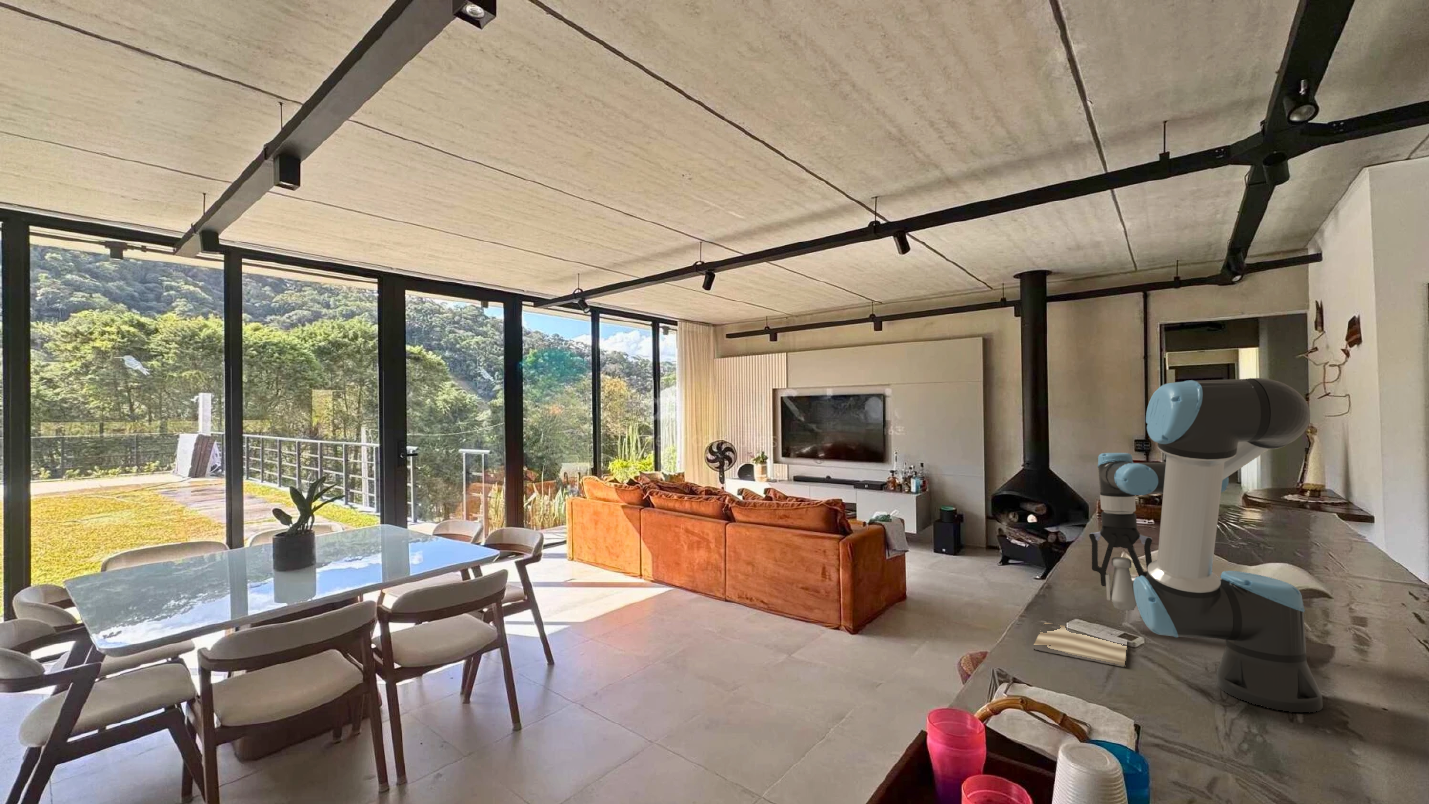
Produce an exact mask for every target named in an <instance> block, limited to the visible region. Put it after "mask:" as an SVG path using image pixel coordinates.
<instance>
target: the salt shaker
mask: <svg viewBox="0 0 1429 804" xmlns="http://www.w3.org/2000/svg"><path fill="white" fill-rule="evenodd" d="M1111 566H1112V567H1114V569H1113V577H1112V584H1111V596H1110V598H1111V600H1110V601H1111V602H1112V605H1113V607H1114V609H1118V610H1121V611H1128V612H1129V611H1134V610H1135V609H1136V606H1137V603H1136V600H1135V595H1134V588H1133V583H1134V581H1133V580H1132V579H1133V578H1132V575H1131V571H1130V568H1132V559H1130V558H1127V557H1125V556H1116V557H1112V558H1111Z"/></svg>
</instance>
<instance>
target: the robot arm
mask: <svg viewBox="0 0 1429 804" xmlns="http://www.w3.org/2000/svg"><path fill="white" fill-rule="evenodd" d="M1145 414H1146V415H1145V423H1146V424H1147V425H1146V431H1147V434H1148V437H1149V438H1150V439H1151V440H1152V441H1153V442H1154V443H1157V449H1158V450H1159V451H1160V452H1162V454H1164V455H1165V456H1166V457H1165V458H1166V459H1165V462H1134V460H1133V455H1132V454H1131V453H1129V452H1102V453H1100V454H1098V456H1097V459H1098V461H1097V469H1098V479H1099V480H1098V481H1099V499H1100V510H1102V512H1101V513H1100V515H1101V529H1100V531H1097V532H1090V533H1089V534H1088V537H1089V539H1090V541H1091V569H1092V571H1093V572H1097V573H1099V576H1100V585H1101V586H1102V587H1106V589H1105V591H1106V601H1111V598H1110V596H1111V589H1112V587H1111V577H1110V575H1111V573H1110V572H1107V569H1108V566H1109V562H1110V559H1111V556H1112V553H1113V549H1114V548H1121V549H1127V551H1128V553H1129V556H1130V558H1131V562H1132V564H1133V565H1134V568H1135V571H1136V573H1137V574H1138V575H1136V576H1135V578H1134V579H1133V588H1134V595H1135V600H1136V603H1137V605H1136V606H1137V609H1138V612H1139V614H1140V616H1141V619H1142V621H1143V623H1144V624H1145V626H1146V627H1147V628H1148V630H1149V631H1150V632H1152V633H1154V634H1156V635H1159V636H1167V637H1168V636H1170V637H1174V638H1177V639H1178V638H1179V637H1180V638H1194V639H1208V640H1222V641H1223V640H1224V641H1225V650H1224V652H1223V654H1222V657H1221V659H1220V662H1219V665H1218V667H1217V668H1216V669H1217V670H1216V685H1217V686H1219V687H1220V688H1221V689H1222V690H1221V689H1220V688H1219V687H1218V688H1219V689H1220V690H1221V691H1223V692H1224V691H1225V692H1224V693H1226V694H1227V693H1228V694H1227V695H1229V696H1231V695H1232V696H1231V697H1233V696H1234V697H1233V698H1235V697H1236V698H1235V699H1237V698H1238V700H1240V699H1241V700H1240V701H1242V700H1244V701H1243V702H1245V701H1247V702H1246V703H1248V702H1249V703H1248V704H1251V703H1252V704H1251V705H1255V704H1256V705H1255V706H1257V705H1262V706H1264V707H1263V708H1265V707H1268V708H1267V709H1269V708H1273V709H1277V710H1276V711H1278V710H1283V711H1282V712H1284V711H1289V712H1288V713H1292V712H1309V713H1308V714H1311V713H1310V712H1313V713H1317V712H1319V711H1321V710H1322V709H1323V708H1324V707H1323V706H1324V704H1323V694H1322V692H1321V690H1320V688H1319V685H1318V684H1317V682H1316V679H1315V677H1314V675H1313V673H1312V670H1311V669H1310V666H1309V664H1308V662H1307V643H1306V642H1307V641H1306V628H1305V627H1306V625H1305V614H1304V613H1305V612H1306V609H1305V607H1304V601H1303V596H1302V593H1301V591H1300V589H1298V588H1297V587H1296V586H1294V585H1293V584H1291V583H1289V582H1286V581H1283V580H1280V579H1278V578H1272V577H1269V576H1265V575H1262V574H1256V573H1251V572H1247V571H1246V572H1245V571H1239V570H1224V571H1222V572H1221V574H1220V576H1218V575H1217V574H1216V573H1215V572H1214V571H1213V563H1214V556H1215V555H1214V554H1215V548H1216V547H1215V546H1216V538H1217V530H1218V521H1219V514H1220V503H1221V497H1222V496H1221V494H1222V493H1224V492H1225V491H1226V490H1227V487H1228V486H1229V483H1230V482H1229V481H1230V479H1229V476H1231V475H1233V474H1234V473H1236V472H1237V471H1238V470H1240V469H1241V468H1244V467H1245V466H1246V465H1247V464H1250V463H1251V462H1252V461H1254V460H1255V459H1257V458H1258V457H1260V456H1261V455H1263V454H1264V453H1265V452H1267V451H1269V450H1277V449H1281V448H1284V447H1286V446H1288V445H1289V444H1291V443H1292V442H1295V441H1296V440H1297V439H1298V438H1299V437H1301V436H1302V435H1303V434H1304V433H1305V431H1306V430H1307V428H1308V427H1309V425H1310V421H1311V410H1310V407H1309V404H1308V403H1307V401H1306V399H1305V397H1303V395H1301V393H1299V392H1298V391H1297V390H1296V389H1294V388H1293V387H1291V386H1290V385H1287V384H1286V383H1284V382H1281V381H1277V380H1274V379H1269V378H1260V377H1254V378H1253V377H1252V378H1251V377H1250V378H1237V379H1235V378H1234V379H1211V380H1210V379H1206V380H1202V379H1201V380H1193V379H1191V380H1189V379H1188V380H1184V381H1176V382H1169V383H1168V382H1167V383H1164V384H1162V385H1160V386H1159V387H1158V389H1156V390H1155V391H1154V392H1153V394H1152V395H1151V397H1150V400H1149V402H1148V405H1147V408H1146V413H1145ZM1148 494H1156V495H1157V494H1162V504H1161V513H1160V514H1161V515H1160V525H1159V535H1158V536H1159V537H1158V548H1157V549H1158V550H1157V559H1156V560H1153V558H1152V549H1151V545H1152V544H1153V543H1152V542H1153V538H1152V536H1149V535H1148V536H1146V535H1143V534H1140V532H1139V531H1138V519H1137V514H1136V513H1135V512H1136V511H1137V509H1136V508H1137V507H1136V496H1146V495H1148ZM1101 537H1102V538H1103V540H1104V541H1106V543H1107V544H1108V545H1107V547H1106V552H1105V555H1104V557H1103V559H1102V564H1101V566H1099V541H1100V539H1101ZM1138 540H1140V543H1141V544H1142V545H1143V549H1144V557H1145V565H1146V570H1145V571H1144V569H1143V566H1142V564H1141V561H1140V559H1139V556H1138V554H1137V552H1136V550H1135V547H1134V544H1136V542H1138ZM1273 709H1272V710H1273ZM1316 711H1317V712H1316Z"/></svg>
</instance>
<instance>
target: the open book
mask: <svg viewBox="0 0 1429 804" xmlns="http://www.w3.org/2000/svg"><path fill="white" fill-rule="evenodd" d="M1044 624H1052V623H1050V622H1044V623H1043V625H1044ZM1059 625H1060V627H1061V628H1060V629H1057V630H1054V631H1047V633H1043V632H1039V633H1040V634H1038V635H1037V637H1036V639H1035V642H1034V643H1033V645H1047V647H1048V648H1050V649H1054V650H1058V651H1062V652H1065V653H1068V654H1072V655H1077V656H1082V657H1087V658H1091V659H1096V660H1101V661H1106V662H1110V663H1115V664H1119V665H1125V661H1126V662H1127V656H1126V650H1127V651H1128V648H1127V646H1122V645H1123V644H1122V645H1121V644H1117V643H1113V642H1110V641H1106V640H1102V639H1098V638H1094V637H1090V636H1087V635H1082V634H1076V633H1071V632H1069V631H1067V630H1066V628H1065V626H1066V625H1062V624H1059ZM1049 645H1051V646H1049ZM1125 666H1126V665H1125Z"/></svg>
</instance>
